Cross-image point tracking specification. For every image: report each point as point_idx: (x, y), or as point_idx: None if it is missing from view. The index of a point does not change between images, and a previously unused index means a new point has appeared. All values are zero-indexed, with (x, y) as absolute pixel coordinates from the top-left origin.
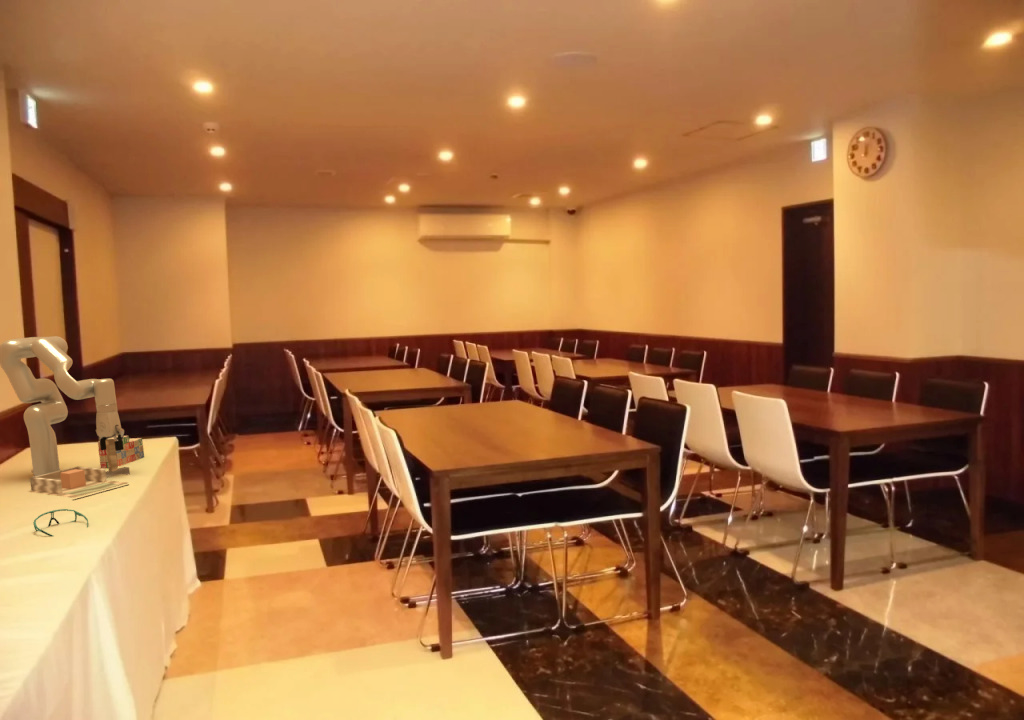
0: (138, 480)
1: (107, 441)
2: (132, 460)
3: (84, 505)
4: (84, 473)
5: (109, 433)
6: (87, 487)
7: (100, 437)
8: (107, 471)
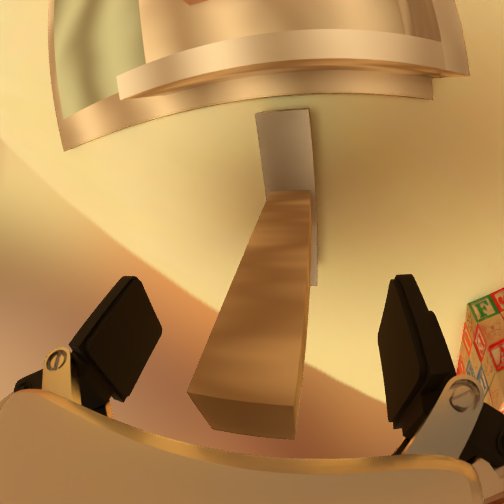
0: (114, 205)
1: (240, 379)
2: (458, 370)
3: (9, 12)
4: None
5: (9, 427)
6: (131, 4)
7: (440, 432)
8: (303, 176)
